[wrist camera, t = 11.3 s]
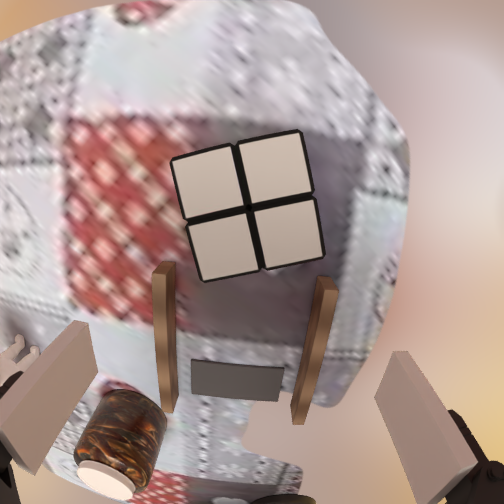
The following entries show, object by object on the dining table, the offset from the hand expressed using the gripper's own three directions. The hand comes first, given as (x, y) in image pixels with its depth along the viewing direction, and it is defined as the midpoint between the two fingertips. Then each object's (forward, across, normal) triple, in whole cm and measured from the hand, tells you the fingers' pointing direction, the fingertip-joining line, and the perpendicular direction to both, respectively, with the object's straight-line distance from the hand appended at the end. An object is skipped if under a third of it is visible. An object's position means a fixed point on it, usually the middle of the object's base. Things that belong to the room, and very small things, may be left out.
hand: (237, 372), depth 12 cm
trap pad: (+22, 0, +20) cm, 29 cm away
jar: (+22, +16, +30) cm, 41 cm away
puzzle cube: (+22, 0, -5) cm, 23 cm away
